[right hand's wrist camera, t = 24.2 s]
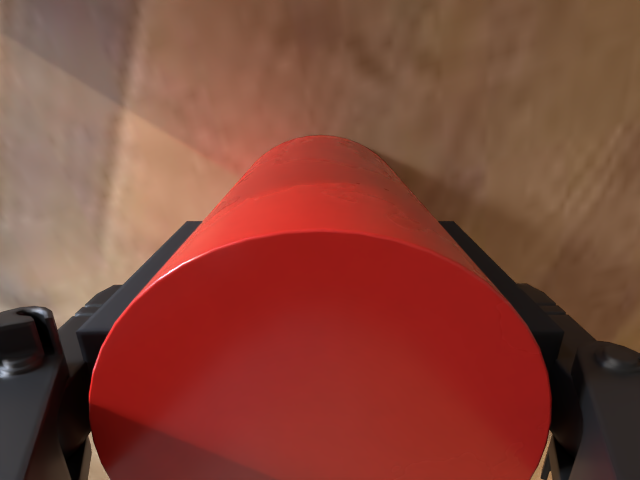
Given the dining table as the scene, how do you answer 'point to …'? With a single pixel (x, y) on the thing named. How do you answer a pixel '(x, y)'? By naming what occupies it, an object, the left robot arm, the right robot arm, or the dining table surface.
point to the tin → (320, 341)
